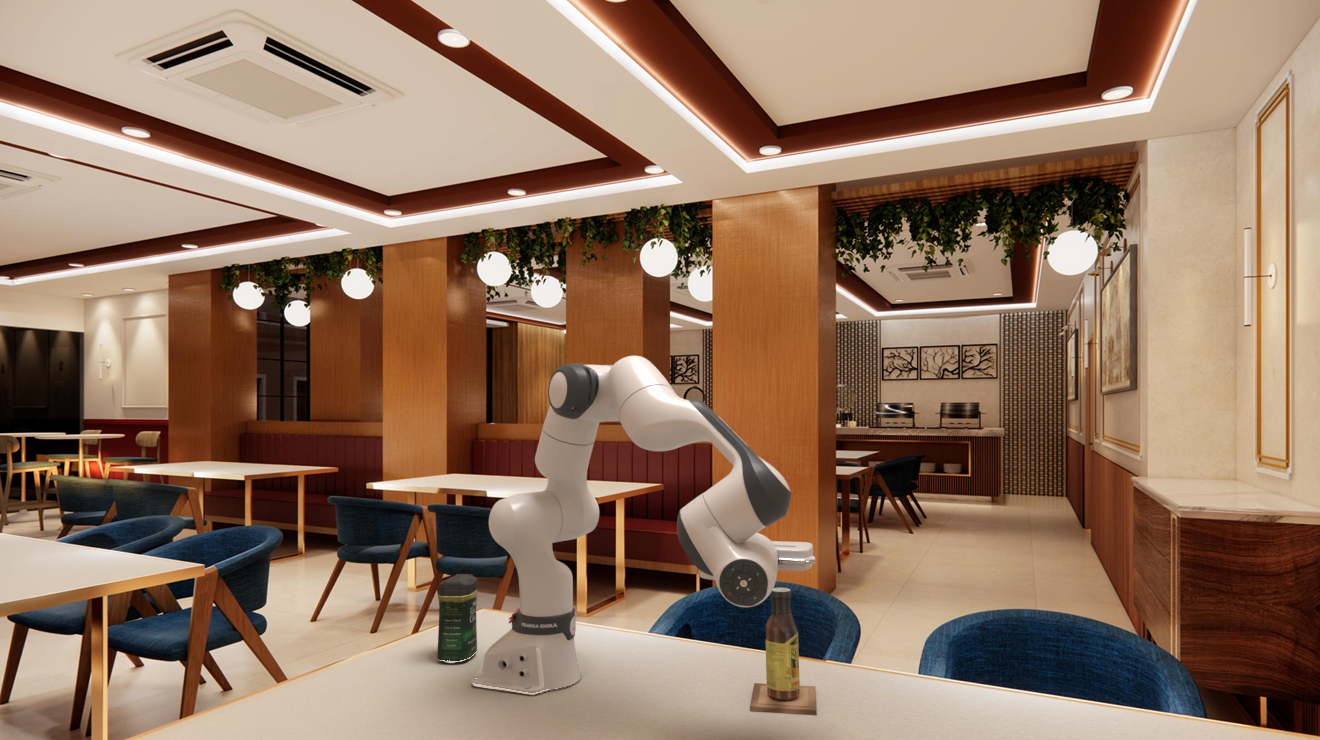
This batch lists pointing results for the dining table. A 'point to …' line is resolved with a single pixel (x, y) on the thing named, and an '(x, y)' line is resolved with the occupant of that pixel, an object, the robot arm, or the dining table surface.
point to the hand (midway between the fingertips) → (756, 545)
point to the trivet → (784, 701)
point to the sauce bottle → (782, 648)
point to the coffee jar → (457, 618)
